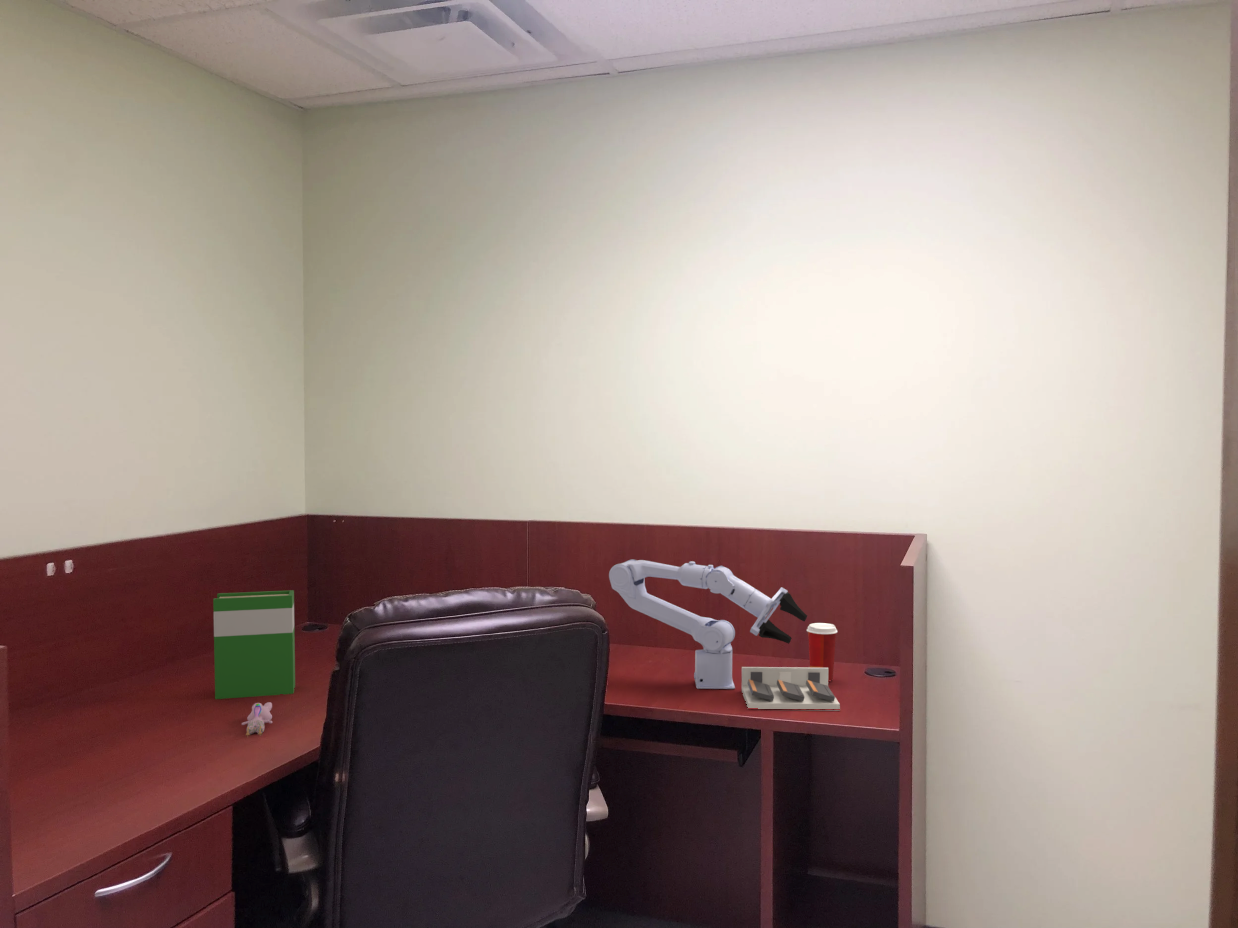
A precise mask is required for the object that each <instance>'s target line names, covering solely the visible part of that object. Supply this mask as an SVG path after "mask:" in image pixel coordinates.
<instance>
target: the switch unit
mask: <svg viewBox="0 0 1238 928" xmlns="http://www.w3.org/2000/svg"><path fill="white" fill-rule="evenodd" d="M748 679H749V680H753V681H757V682H760V683H764V684H767V685H769V686H770V688H771V691H772V693H773V695H774V699H773V701H771V700H768V699H764V698H760V697H757V696H753V695H752V694H751V692H750V689H749V686H748V684H747V683H748ZM777 680H781V681H785V682H788V683H792V684H796V685H798V686H799V688H800V689H801V691H802V693H803V695H804V700H803V701H801V700H797V699H793V698H790V697H786V696H782V694H781V692H780V690H779V688H778V686H777V684H776V683H777ZM807 680H809V681H813V682H816V683H820V684H824V685H827V686H828V687H829V682H828V668H810V666H808V667H798V666H794V667H790V666H788V667H787V666H782V667H781V666H779V667H778V666H770V667H769V666H741V693H743V694H742V696H743V699H744V701H746V702H745V704H747V705H746V707H748V708H758V709H840V710H841V704H840V702H839V701H838V699H837V697H835V699H834V701H830V700H826V699H823V698H819V697H815V696H813V695H812V694H811V692H810V690H809V689H808V687H807V685H806V681H807ZM748 708H747V709H748Z"/></svg>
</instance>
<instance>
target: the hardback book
mask: <svg viewBox="0 0 1238 928" xmlns="http://www.w3.org/2000/svg"><path fill="white" fill-rule="evenodd" d="M216 597H217V598H213V599H212V600H213V601H212V603H213V606H212V607H213V641H214V642H213V648H214V649H213V653H214V654H213V655H214V658H213V660H214V661H213V662H214V699H215V700H222V699H223V700H226V699H237V698H252V697H253V698H254V697H265V696H269V697H270V696H281V695H280V694H283V695H293V694H294V693H295V689H296V653H295V650H296V648H295V647H296V646H295V645H296V644H295V641H296V640H295V590H293V589H292V590H291V589H290V590H270V591H269V590H268V591H247V592H221V593H217V595H216ZM294 688H295V689H294Z"/></svg>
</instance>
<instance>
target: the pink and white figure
mask: <svg viewBox="0 0 1238 928" xmlns="http://www.w3.org/2000/svg"><path fill="white" fill-rule="evenodd" d="M272 709H273V703H272V702H269V701H268V702H266V703H264V705H263V704H262V703H260V702H254V703H253V704H252V706H251V712H250V713H249V714H248V716H247V718H246V719H247V721H244V722H241V726H245V725H247V726H246V733H245V736H247V738H249V736H251V735H253V734H254V733H257V735H259V736H260V737H261V736H262V735H263V732H264V731H265V726H266V725H265V724H267V723H268V724H273V721H272V718H273V715H272V714H271V712H270V711H271V710H272Z"/></svg>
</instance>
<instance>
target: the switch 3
mask: <svg viewBox="0 0 1238 928" xmlns="http://www.w3.org/2000/svg"><path fill="white" fill-rule="evenodd" d="M806 685H807V687H808V689H809V690H810V692H811V694H812V695H813V696H815V697H819V698H823V699H826V700H830V701H834V699H835V698H836V696H835V695H834V693H833V692H832V691H831V689H830V687H829V685H828V686H827V685H824V684H820V683H816V682H813V681H809V680H807V681H806Z"/></svg>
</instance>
